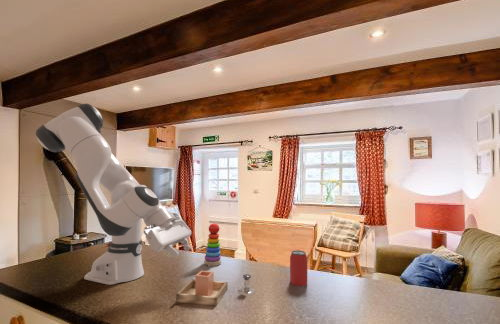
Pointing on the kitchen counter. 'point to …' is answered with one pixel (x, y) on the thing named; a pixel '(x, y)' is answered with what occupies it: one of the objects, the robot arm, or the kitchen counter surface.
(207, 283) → the collar
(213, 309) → the kitchen counter surface
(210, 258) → the stacking toy
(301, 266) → the beer can
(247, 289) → the silver knob
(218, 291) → the tray
